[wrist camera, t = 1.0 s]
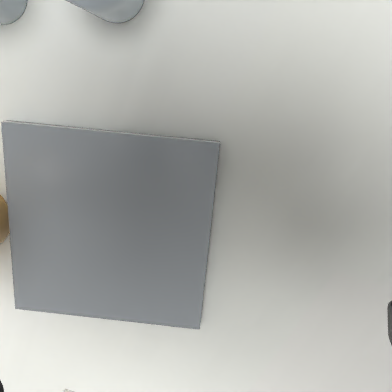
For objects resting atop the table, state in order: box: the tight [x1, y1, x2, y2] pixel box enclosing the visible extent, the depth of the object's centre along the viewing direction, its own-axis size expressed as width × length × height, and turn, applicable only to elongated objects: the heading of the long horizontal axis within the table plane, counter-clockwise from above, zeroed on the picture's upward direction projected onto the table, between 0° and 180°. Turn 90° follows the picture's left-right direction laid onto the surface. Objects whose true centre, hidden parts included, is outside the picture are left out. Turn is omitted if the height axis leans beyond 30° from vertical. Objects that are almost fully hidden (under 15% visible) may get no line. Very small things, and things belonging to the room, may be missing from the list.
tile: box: [1, 121, 220, 329], centre depth 22 cm, size 12×12×1 cm
